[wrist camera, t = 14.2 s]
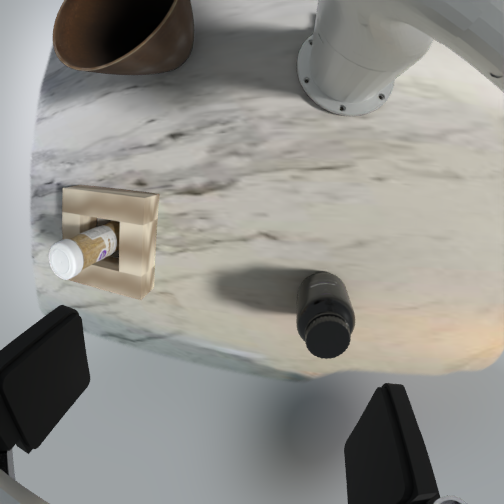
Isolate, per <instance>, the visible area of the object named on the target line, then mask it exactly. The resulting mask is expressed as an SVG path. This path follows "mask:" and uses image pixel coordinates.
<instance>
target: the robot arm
mask: <svg viewBox="0 0 504 504" xmlns="http://www.w3.org/2000/svg"><path fill="white" fill-rule="evenodd" d="M433 39H434V40H436V41H437V42H439V43H441V44H443V45H445V46H446V47H448V48H449V49H450V50H452V51H453V52H455V53H456V54H457V55H459V56H460V57H461V58H463V59H464V60H465V61H467V62H468V63H469V64H470V65H472V66H473V67H474V68H475V69H477V70H478V71H479V72H480V73H482V74H483V75H484V76H485V77H486V78H487V79H489V80H490V81H491V82H492V83H493V84H494V85H496V86H497V87H498V88H499V89H500V90H501V91H503V92H504V0H318V6H317V13H316V20H315V27H314V34H313V35H311V36H310V37H309V38H308V39H307V40H306V41H305V42H304V43H303V45H302V47H301V49H300V51H299V54H298V58H297V74H298V77H299V81H300V83H301V85H302V87H303V89H304V91H305V92H306V93H307V95H308V96H309V97H310V98H311V99H312V100H313V101H314V102H315V103H316V104H318V105H319V106H321V107H322V108H324V109H325V110H328V111H330V112H332V113H335V114H339V115H343V116H361V115H365V114H368V113H371V112H373V111H375V110H376V109H378V108H379V107H381V106H382V105H383V104H384V103H385V102H386V101H387V100H388V98H389V96H390V95H391V93H392V90H393V87H394V81H395V79H396V78H397V77H398V76H400V75H401V74H402V73H404V72H405V71H406V70H407V69H409V68H410V67H411V66H413V65H414V64H415V63H416V62H417V61H419V60H420V59H421V58H422V57H423V56H424V55H425V54H426V53H427V51H428V50H429V48H430V46H431V44H432V41H433ZM311 43H312V45H310V44H311ZM305 80H307V81H309V83H305ZM379 96H380V97H381V98H382V99H379ZM340 107H342V108H343V111H341V110H340ZM89 382H90V374H89V368H88V362H87V356H86V349H85V342H84V334H83V326H82V319H81V317H80V316H79V313H78V312H77V311H76V310H75V309H72V308H69V307H67V306H64V305H60V306H58V307H57V308H56V309H54V310H53V311H52V312H50V313H49V314H48V315H46V316H45V317H43V318H42V319H41V320H39V321H38V322H37V323H36V324H34V325H33V326H31V327H30V328H29V329H27V330H26V331H25V332H24V333H22V334H21V335H20V336H18V337H17V338H16V339H14V340H13V341H12V342H11V343H9V344H8V345H7V346H6V347H4V348H3V349H2V350H0V504H49V503H48V502H46V501H44V500H43V499H41V498H40V497H38V496H37V495H35V494H34V493H32V492H31V491H29V490H28V489H26V488H25V487H23V486H22V485H21V484H19V483H18V482H17V481H15V474H14V465H13V453H12V448H13V446H14V445H15V444H16V445H17V446H18V447H19V448H21V449H22V450H24V451H25V452H27V453H28V454H29V453H30V452H31V450H32V449H36V448H38V447H39V446H40V445H41V443H42V442H43V441H44V439H45V438H46V437H47V436H48V434H49V433H50V432H51V431H52V429H53V428H54V427H55V426H56V424H57V423H58V422H59V421H60V419H61V418H62V417H63V416H64V415H65V413H66V412H67V411H68V409H69V408H70V407H71V406H72V405H73V404H74V402H75V401H76V400H77V399H78V397H79V396H80V395H81V394H82V393H83V391H84V390H85V389H86V388H87V387H88V385H89ZM344 454H345V467H346V480H347V495H348V504H467V503H466V502H465V501H463V500H462V499H461V498H459V497H456V496H444V497H441V498H440V495H439V491H438V488H437V484H436V480H435V477H434V473H433V470H432V466H431V463H430V460H429V456H428V453H427V450H426V447H425V444H424V441H423V438H422V435H421V432H420V430H419V427H418V424H417V421H416V418H415V415H414V413H413V410H412V407H411V404H410V401H409V398H408V396H407V393H406V390H405V388H404V386H403V385H401V384H390V383H385V384H384V385H383V386H382V387H378V388H377V389H376V391H375V393H374V394H373V396H372V398H371V400H370V402H369V403H368V405H367V407H366V409H365V411H364V412H363V414H362V416H361V418H360V420H359V421H358V423H357V425H356V426H355V428H354V430H353V431H352V433H351V435H350V436H349V438H348V439H347V441H346V444H345V448H344Z"/></svg>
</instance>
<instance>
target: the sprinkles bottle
mask: <svg viewBox="0 0 504 504" xmlns="http://www.w3.org/2000/svg"><path fill="white" fill-rule="evenodd" d="M119 236H120V222H118V221H110V222H109V223H107V224H105V225H102V226H98V227H95V228H93V229H90V230H88V231H85V232H83V233H80V234H78V235H76V236H74V237H72V238H70V239H63V240H61V241H59V242H56V243H55V244H53V245H52V246H51V248H50V250H49V263H50V266H51V269H52V270H53V272H54V273H55V274H56V275H57V276H58V277H59V278H61V279H64V280H68V279H71V278H73V277H75V276H76V275H78V274H79V273H80V272H81V271H82V270H83V269H85V268H87V267H88V266H90V265H92V264H94V263H96V262H98V261H100V260H102V259H104V258H105V257H107V256H109V255H111V254H112V253H114V252H116V251H117V250H119Z"/></svg>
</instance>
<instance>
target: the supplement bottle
mask: <svg viewBox="0 0 504 504" xmlns="http://www.w3.org/2000/svg"><path fill="white" fill-rule="evenodd" d="M354 326H355V315H354V311H353V308H352V305H351V302H350V299H349V296H348V293H347V290H346V287H345V285H344V283H343V282H342V280H341V279H340V278H338V277H337V276H335V275H333V274H331V273H326V272H321V273H316V274H313V275H311V276H309V277H308V278H306V279H305V280H304V281H303V282H302V284H301V285H300V287H299V290H298V296H297V330H298V333H299V335H300V337H301V338H302V339H303V340H304V341H305V342H306V346H307V348H308V350H309V351H310V352H311V353H312V354H313V355H314V356H317V357H320V358H325V359H327V358H335V357H336V356H339V355H340V354H342V353H343V352H344V351H345V350H346V349H347V348H348V345H349V344H350V343H349V342H350V337H351V334H352V332H353V329H354Z"/></svg>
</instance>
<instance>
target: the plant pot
mask: <svg viewBox="0 0 504 504" xmlns="http://www.w3.org/2000/svg"><path fill="white" fill-rule="evenodd" d="M193 38H194V22H193V13H192V7H191V2H190V0H64V2H63V4H62V6H61V7H60V10H59V12H58V14H57V17H56V20H55V24H54V29H53V46H54V50H55V53H56V55H57V57H58V58H59V60H60V61H61V62H62V63H63V64H64V65H66V66H67V67H69V68H72V69H75V70H80V71H88V72H96V73H105V74H116V75H147V74H157V73H163V72H168V71H171V70H174V69H176V68H178V67H179V66H180V65H182V64H183V63H184V62H185V61H186V60H187V58H188V57H189V55H190V53H191V51H192V46H193Z"/></svg>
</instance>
